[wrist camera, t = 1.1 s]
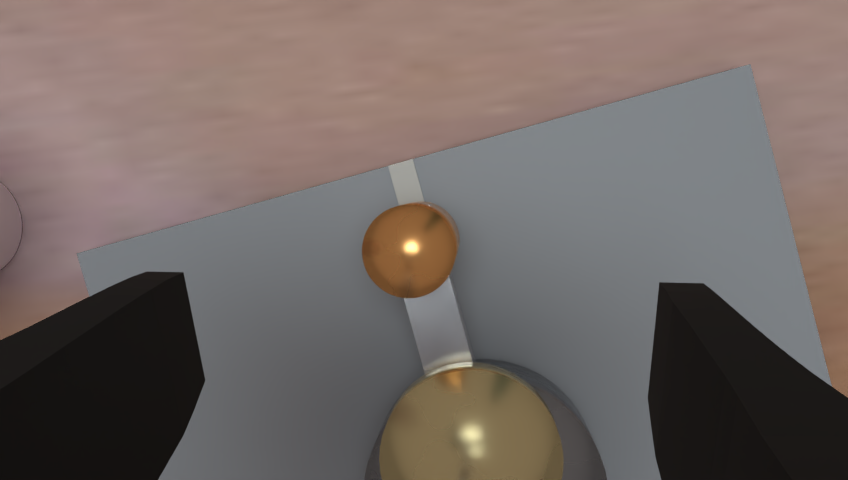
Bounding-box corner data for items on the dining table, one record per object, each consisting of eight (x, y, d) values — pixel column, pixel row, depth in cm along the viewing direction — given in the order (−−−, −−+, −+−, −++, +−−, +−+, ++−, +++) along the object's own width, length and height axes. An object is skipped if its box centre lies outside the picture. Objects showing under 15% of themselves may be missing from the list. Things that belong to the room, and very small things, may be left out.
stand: (886, 661, 26) (908, 686, 24) (256, 795, 28) (245, 825, 26) (737, 69, 25) (751, 63, 23) (94, 250, 27) (75, 253, 25)
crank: (621, 547, 25) (652, 626, 20) (407, 597, 25) (392, 684, 21) (520, 172, 24) (529, 169, 20) (304, 232, 25) (266, 242, 20)
